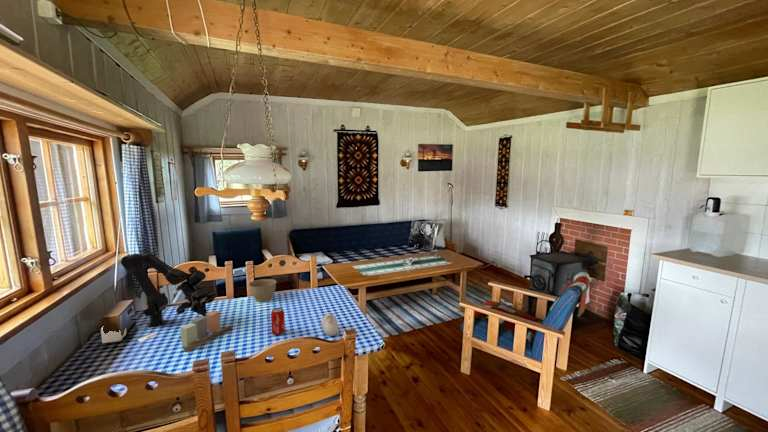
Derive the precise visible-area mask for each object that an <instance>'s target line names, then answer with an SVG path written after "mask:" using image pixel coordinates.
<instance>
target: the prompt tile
mask: <svg viewBox="0 0 768 432" xmlns="http://www.w3.org/2000/svg"><path fill="white" fill-rule="evenodd" d="M157 335H158V334H157V333H154V332H153V333H151V334H147V335H145V336H143V337H140V338H139V339H137V342H139V343H140V342H141V343H142V342H143V341H145V340H148V339H151V338H153V337H155V336H157Z"/></svg>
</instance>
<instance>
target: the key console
mask: <svg viewBox="0 0 768 432" xmlns="http://www.w3.org/2000/svg"><path fill="white" fill-rule="evenodd" d="M232 330H233V326H232V325H230V324H229V325H227V326H226V327H223V328H220V330H217V331H215V332H213V333H211V334H209V335H208V334H207V336H205V337H203V338H201V339H199V340H198V339H197V341H196V342H194V343H192V344H190V345H188V346H185V347H183V352H184V353H188V352H190V351H192V350H194V349H196V348H198V347H201V346H202V345H204V344H206V343H208V342H210V341H212V340H213V339H214V340H215V339H216V338H218V337H221V336H222V335H224V334H226V333H228V332H230V331H232Z"/></svg>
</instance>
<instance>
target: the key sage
mask: <svg viewBox="0 0 768 432" xmlns="http://www.w3.org/2000/svg"><path fill="white" fill-rule="evenodd" d="M180 340H181V341H180V342H181V347H182V348H184V347H185V346H188V345H190V344H192V343H194V342H196V341H198V339H197V333H196V325H195V324H192V322H189V323H187V324H185V325H182V326H180Z"/></svg>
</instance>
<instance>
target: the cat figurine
mask: <svg viewBox="0 0 768 432" xmlns="http://www.w3.org/2000/svg"><path fill="white" fill-rule="evenodd" d="M320 326H321V329H322V330H323V331H322V332H323V333H324V334H325V335H326V336H329V337H333V336H335V335H338V334H340V330H339V327H340V326H339V322H338V319H337V317H336V316H335V315H334V314H333V313H332V312H331V313H330V312H329V313H324V314H323V317H322V319H321V321H320Z"/></svg>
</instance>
